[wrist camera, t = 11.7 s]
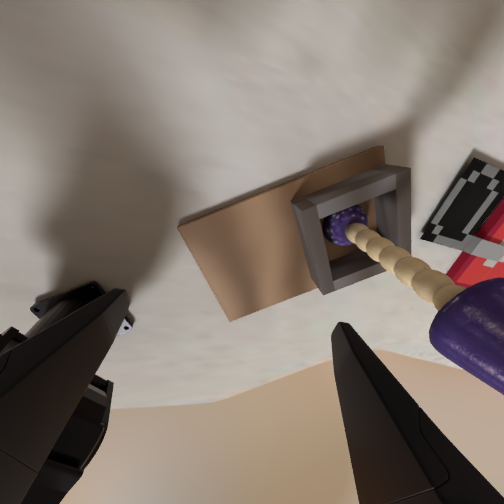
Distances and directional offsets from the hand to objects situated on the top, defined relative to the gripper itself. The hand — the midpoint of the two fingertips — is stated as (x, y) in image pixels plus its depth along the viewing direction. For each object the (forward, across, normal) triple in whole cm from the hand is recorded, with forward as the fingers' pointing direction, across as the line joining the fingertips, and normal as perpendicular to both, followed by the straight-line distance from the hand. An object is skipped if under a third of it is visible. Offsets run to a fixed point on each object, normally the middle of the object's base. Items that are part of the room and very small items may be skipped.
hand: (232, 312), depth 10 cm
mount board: (+13, -5, +4) cm, 15 cm away
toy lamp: (+14, -9, +2) cm, 17 cm away
